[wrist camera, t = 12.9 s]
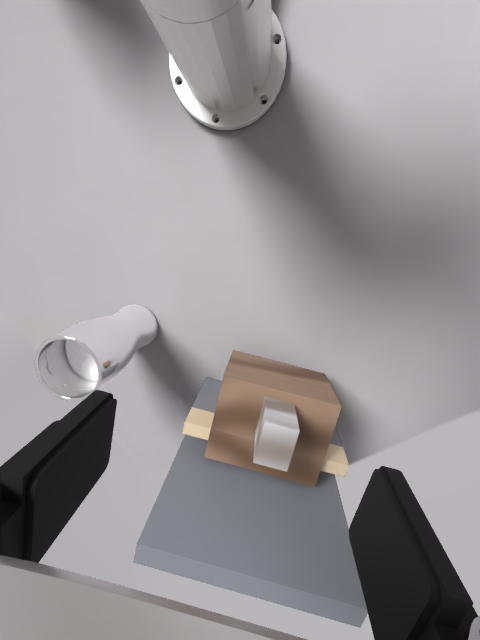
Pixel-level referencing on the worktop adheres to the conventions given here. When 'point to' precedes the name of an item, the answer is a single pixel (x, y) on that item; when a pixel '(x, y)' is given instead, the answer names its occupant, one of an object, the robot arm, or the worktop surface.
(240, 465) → the walnut cabinet
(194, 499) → the wall board
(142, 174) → the worktop surface
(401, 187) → the worktop surface
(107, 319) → the beer glass
